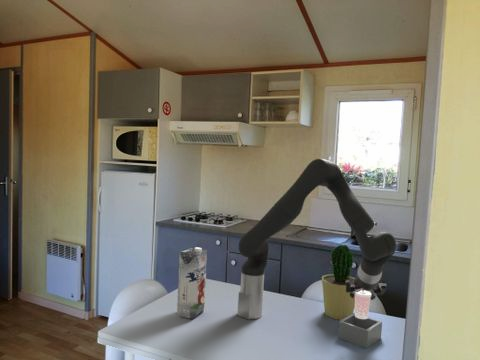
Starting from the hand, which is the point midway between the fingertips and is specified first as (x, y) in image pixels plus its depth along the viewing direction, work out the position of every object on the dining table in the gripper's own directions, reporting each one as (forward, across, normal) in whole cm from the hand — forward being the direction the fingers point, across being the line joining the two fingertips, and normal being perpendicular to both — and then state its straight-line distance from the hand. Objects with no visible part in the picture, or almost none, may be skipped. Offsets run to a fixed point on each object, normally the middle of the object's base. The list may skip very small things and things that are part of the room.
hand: (361, 296), depth 145 cm
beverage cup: (+4, 0, +6) cm, 7 cm away
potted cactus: (+24, +6, -3) cm, 25 cm away
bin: (+9, 0, +11) cm, 15 cm away
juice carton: (+12, +65, +9) cm, 66 cm away
